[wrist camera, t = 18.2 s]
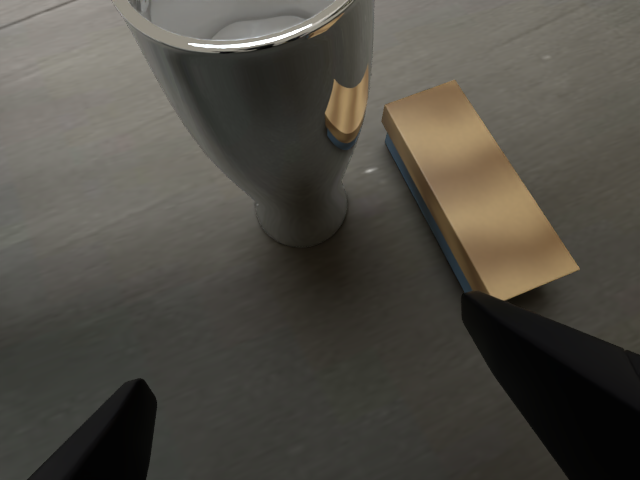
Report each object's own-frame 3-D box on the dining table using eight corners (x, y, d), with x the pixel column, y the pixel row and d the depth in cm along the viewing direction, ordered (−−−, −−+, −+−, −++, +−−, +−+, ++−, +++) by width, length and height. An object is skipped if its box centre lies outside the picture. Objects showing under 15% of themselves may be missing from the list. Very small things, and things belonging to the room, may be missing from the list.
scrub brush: (541, 282, 20) (581, 269, 17) (468, 311, 19) (495, 304, 16) (438, 115, 24) (455, 79, 21) (377, 137, 23) (384, 104, 20)
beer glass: (297, 141, 24) (239, -173, 9) (375, 197, 22) (448, -80, 8) (228, 211, 22) (35, -36, 8) (306, 277, 21) (240, 115, 6)
